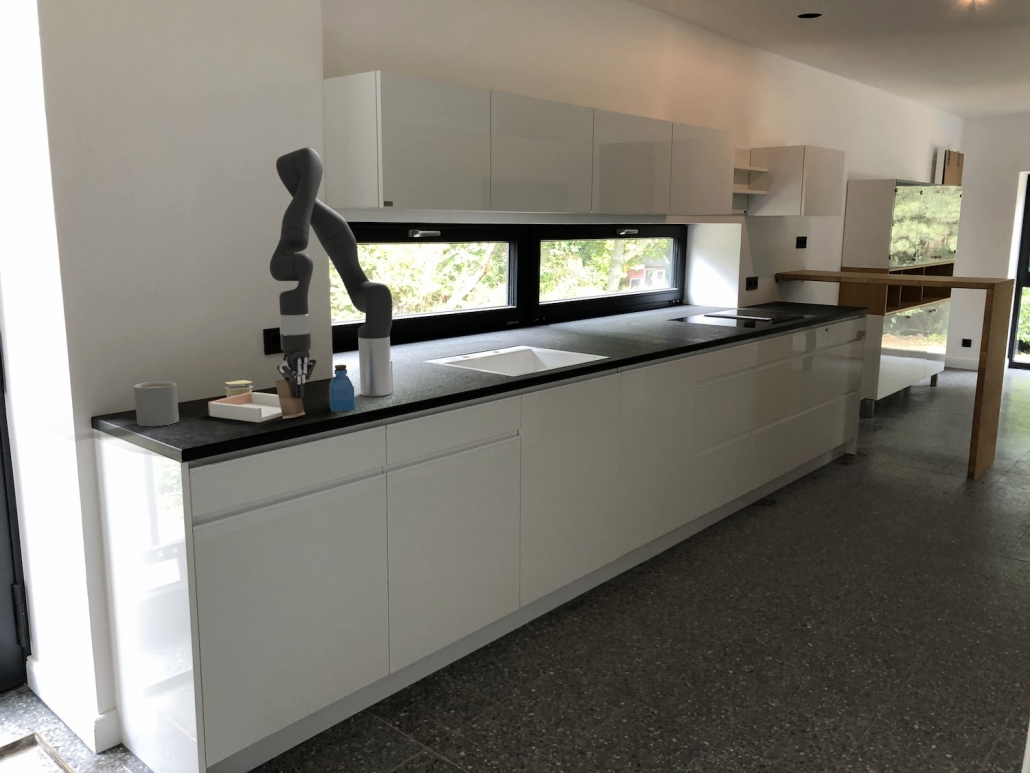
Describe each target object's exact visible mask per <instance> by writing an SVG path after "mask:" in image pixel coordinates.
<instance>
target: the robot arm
mask: <svg viewBox="0 0 1030 773" xmlns="http://www.w3.org/2000/svg"><path fill="white" fill-rule="evenodd" d="M275 165H276V172H277V175H278V177H279V179H280V180H281V182H282V185H283V186H284V187H285V188H286V190H287V192H288V193H289V194H290V196H291V197H292V199H291V201H290V202H289V205H288V206H287V208H286V210H285V212H284V214H283V216H282V217H283V218H282V221H281V229H280V237H279V241H278V243H277V246H276V247H275V250H274V252H273V254H272V256H271V259H270V261H269V262H270V263H269V273H270V275H271V277H272V278H273V279H274V280H276V282H298V284H297V286H296V287H295V288H293V289H289V290H284V291H282V292H280V294H279V297H278V298H279V300H278V301H279V314H280V315H279V334H280V336H279V337H280V349H281V351H283V357H282V360H283V362H282V363H281V364H280V365H279V364H278V365H277V368H276V369H277V371H278V372H279V374H280V375H281V377H282V378H283V379H285V381H286V382H287V383H291V384H292V386H293V396H294V398H298V399H300V398H302V399H303V398H305V383H306V381H309V380H310V378H311V376H312V374H313V372H314V369H315V367H316V364H317V360H316V359H312V357H311V354H310V351H309V350H311V349H312V341H311V340H312V339H311V322H310V317H309V300H308V299H309V291H310V290H309V288H310V283H311V280H312V275H313V272H314V271H313V270H314V262H313V259H312V257H311V256H310V255H309V254H307V253H304V250H306V249H307V248H308V245H309V238H310V237H309V236H310V227H311V228H312V230H313V232H314V233H315V236H316V238H317V239H318V241H319V243H320V245H321V246H322V248H323V249H324V251H325V253H326V255H327V257H328V258H329V260H330V261H331V263H332V265H333V266H334V268H335V270H336V272H337V273H338V275H339V276H340V280H341V281H342V284H343V286H344V288H345V290H346V292H347V294H348V296H349V299H350V301H351V303H352V306H353V307H354V308H355V309H356V310H357V311H358V312H361V313H362V314H365V316H364V317H365V321H364V323H363V325H361V326H359V328H358V329H357V337H358V338H357V339H358V361H359V382H360V383H359V386H360V387H359V388H360V395H361V396H364V397H382V396H383V397H384V396H388V395H392V393H393V392H394V380H393V378H394V377H393V376H394V375H393V374H394V372H393V361H392V360H391V339H390V338H391V336H390V333H391V329H392V326H393V296H392V293H391V289H390V288H389V287H388V285H387V284H384V283H382V282H381V283H380V282H373V281H372V282H371V280H369V278H368V277H367V276H366V274H365V272H364V269H363V268H362V266H361V264H360V260H359V253H358V252H359V251H358V250H359V249H358V244H357V239H356V237H355V235H354V233H353V231H352V229H351V228H350V226H349V224H348V222H347V221H346V219H345V218H344V217H343V215H341V214H339V213H338V211H335V210H334V209H333V208H332V207H329V206H328V205H327V204H325V203H323V202H322V201H321V200H319V199H318V197H317V196H318V194H319V193H318V192H319V189H320V186H321V182H322V178H323V173H324V165H323V161H322V158H321V156H320V155H319V153H318V152H317V151H316V150H315V149H314V148H312V147H303V148H299V149H297V150H294V151H291V152H288V153H286V154H284V155H283V154H282V155H281V156H279V157H278V158H277V159H276V163H275Z"/></svg>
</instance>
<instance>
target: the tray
mask: <svg viewBox="0 0 1030 773" xmlns="http://www.w3.org/2000/svg"><path fill="white" fill-rule="evenodd" d="M207 404H208V405H207V407H208V408H207V409H208V415H209V416H210V417H215V418H221V419H227V420H228V419H231V420H237V421H245V422H251V423H252V422H254V423H262V422H265V421H270V420H272V419H275V418H276V419H277V418H279V417H283V416H282V411H281V406H280V402H279V397H278V394H274V393H264V392H255V391H254V392H252V393H251V392H249V393H245V394H240V395H236V396H232V397H228V398H227V397H224V398H220V399H217V400H211V401H208V402H207Z"/></svg>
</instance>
